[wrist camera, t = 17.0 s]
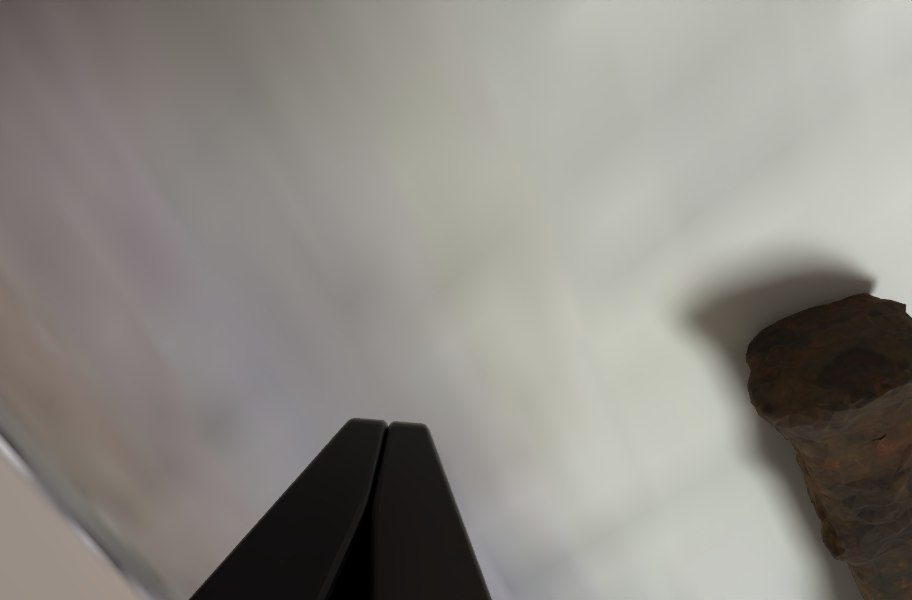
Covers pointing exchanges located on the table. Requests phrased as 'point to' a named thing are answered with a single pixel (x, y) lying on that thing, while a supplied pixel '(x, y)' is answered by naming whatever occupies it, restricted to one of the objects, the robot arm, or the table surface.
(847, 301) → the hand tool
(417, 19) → the table surface
